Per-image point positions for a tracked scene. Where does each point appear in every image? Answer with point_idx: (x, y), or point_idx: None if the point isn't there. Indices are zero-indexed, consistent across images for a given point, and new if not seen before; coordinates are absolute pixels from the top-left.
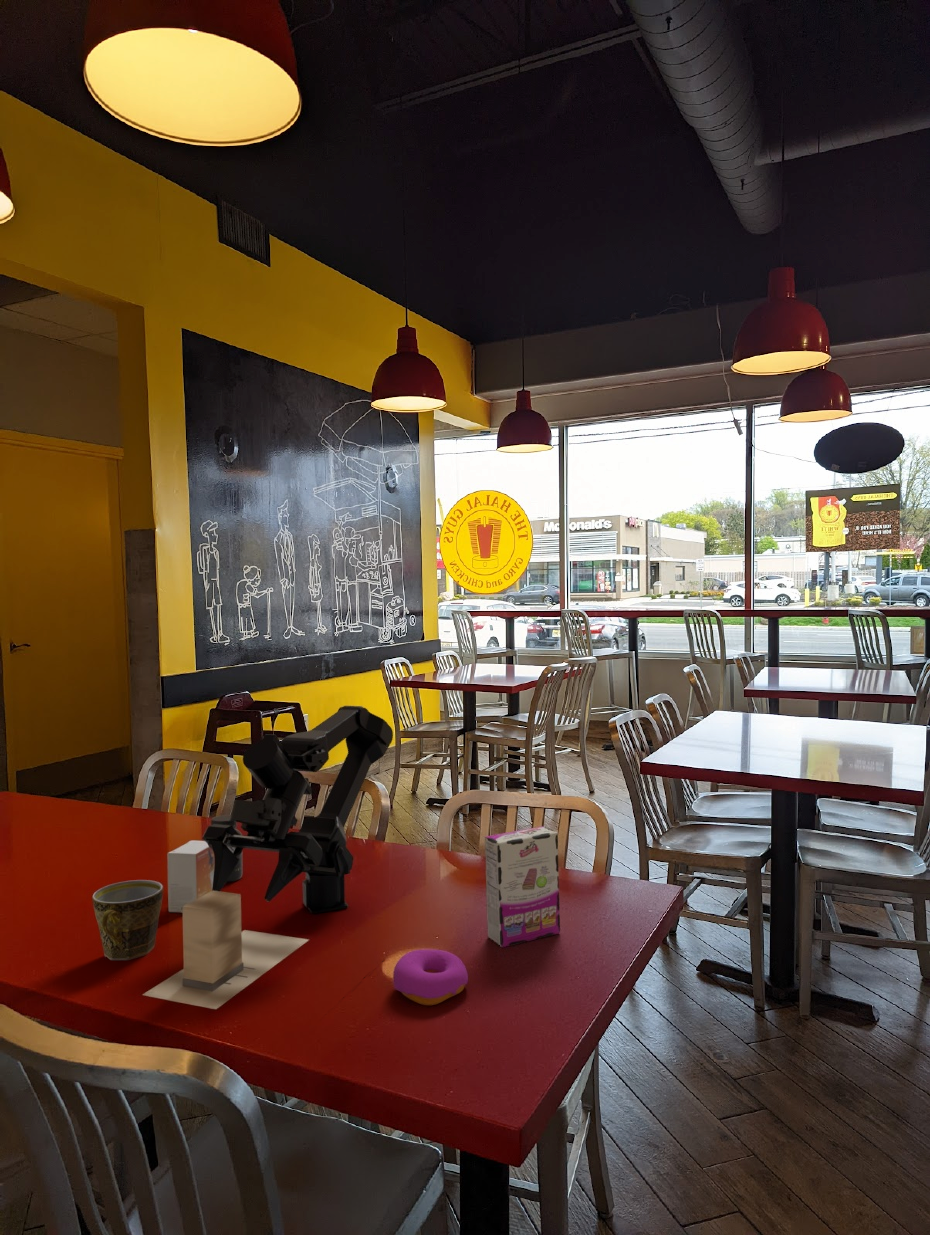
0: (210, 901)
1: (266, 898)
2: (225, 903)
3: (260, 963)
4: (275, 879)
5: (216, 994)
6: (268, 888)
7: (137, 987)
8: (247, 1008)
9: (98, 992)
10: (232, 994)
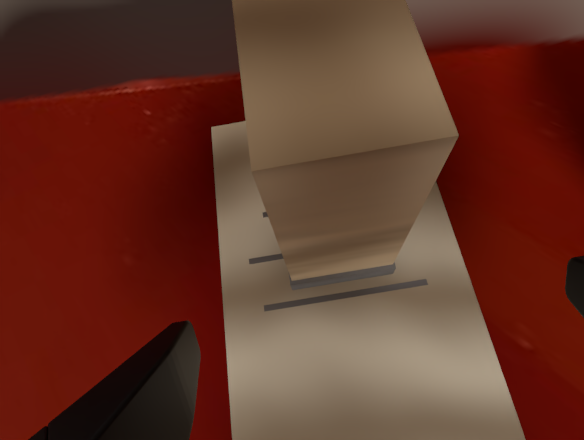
0: (320, 36)
1: (175, 323)
2: (239, 63)
3: (276, 347)
4: (87, 403)
5: None
6: (158, 350)
7: (474, 130)
8: (172, 182)
9: (524, 80)
10: (222, 182)
